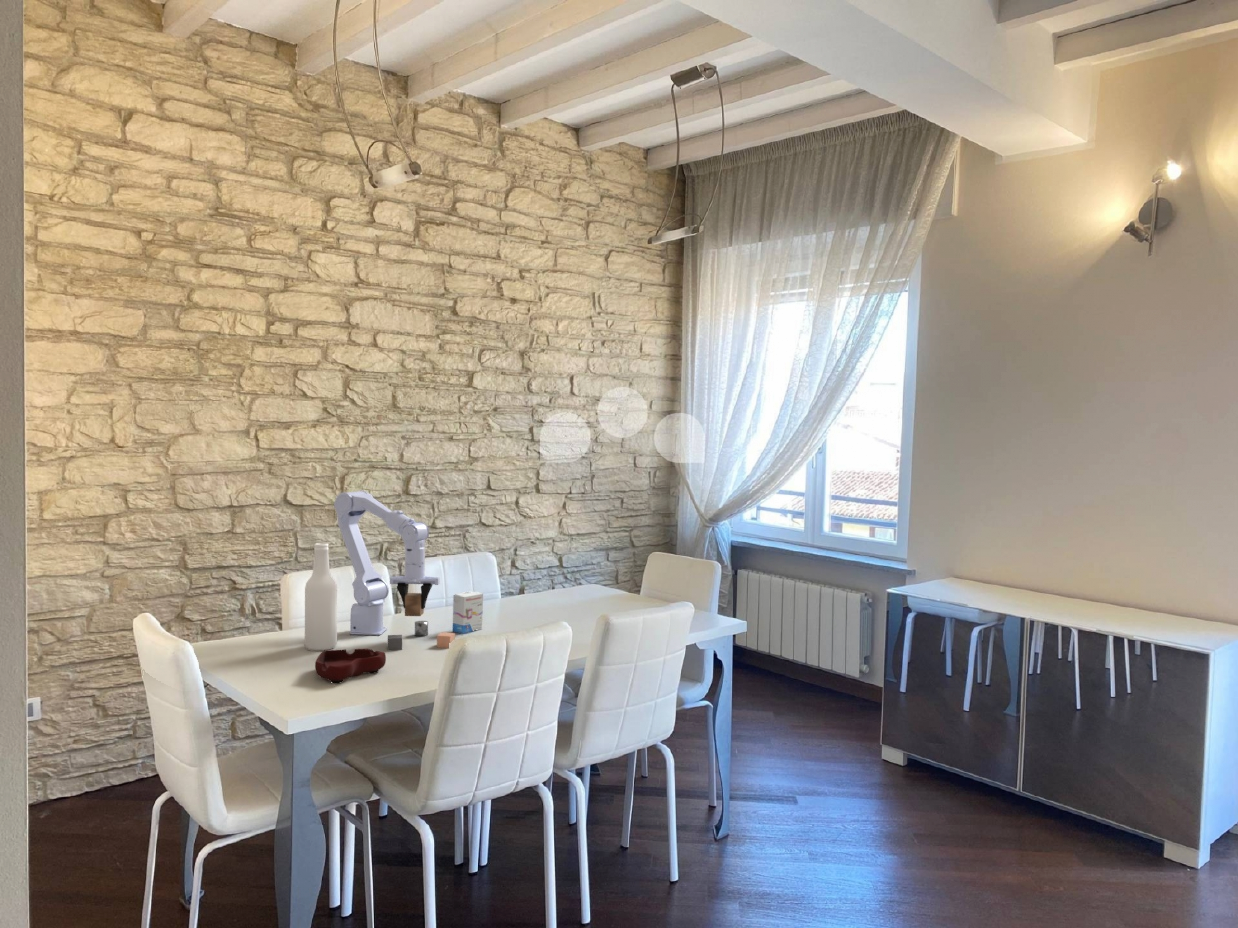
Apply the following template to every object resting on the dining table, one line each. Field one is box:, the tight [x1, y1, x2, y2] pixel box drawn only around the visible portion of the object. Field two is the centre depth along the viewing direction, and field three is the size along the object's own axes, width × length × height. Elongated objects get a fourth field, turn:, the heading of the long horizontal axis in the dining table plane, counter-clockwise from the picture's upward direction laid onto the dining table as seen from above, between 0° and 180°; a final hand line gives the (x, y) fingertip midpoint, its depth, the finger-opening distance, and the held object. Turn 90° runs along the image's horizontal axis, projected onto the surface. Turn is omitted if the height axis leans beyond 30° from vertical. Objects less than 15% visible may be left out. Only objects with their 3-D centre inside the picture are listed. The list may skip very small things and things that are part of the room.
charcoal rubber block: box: [387, 634, 403, 651], centre depth 256 cm, size 4×4×4 cm
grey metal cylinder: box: [414, 620, 429, 638], centre depth 272 cm, size 4×4×4 cm
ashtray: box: [314, 648, 387, 684], centre depth 230 cm, size 18×16×5 cm
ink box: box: [452, 590, 484, 634], centre depth 278 cm, size 9×5×12 cm, turn 143°
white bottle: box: [304, 542, 338, 652], centre depth 254 cm, size 9×9×30 cm
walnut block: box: [404, 592, 425, 617], centre depth 266 cm, size 5×5×6 cm
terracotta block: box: [436, 631, 456, 649], centre depth 260 cm, size 4×4×4 cm
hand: (414, 607), depth 266 cm, fingers closed on walnut block, 5 cm apart
